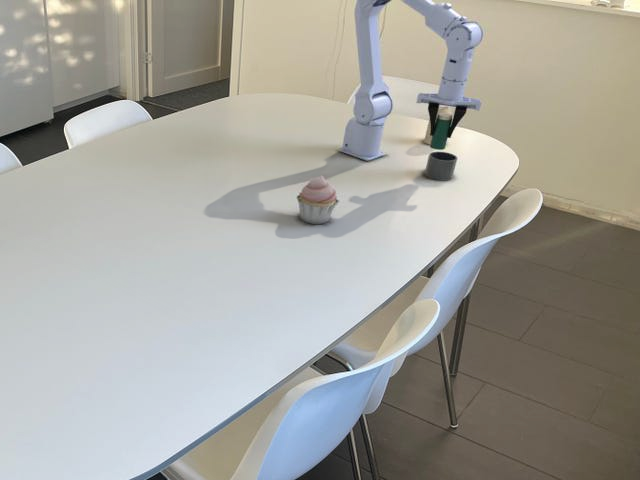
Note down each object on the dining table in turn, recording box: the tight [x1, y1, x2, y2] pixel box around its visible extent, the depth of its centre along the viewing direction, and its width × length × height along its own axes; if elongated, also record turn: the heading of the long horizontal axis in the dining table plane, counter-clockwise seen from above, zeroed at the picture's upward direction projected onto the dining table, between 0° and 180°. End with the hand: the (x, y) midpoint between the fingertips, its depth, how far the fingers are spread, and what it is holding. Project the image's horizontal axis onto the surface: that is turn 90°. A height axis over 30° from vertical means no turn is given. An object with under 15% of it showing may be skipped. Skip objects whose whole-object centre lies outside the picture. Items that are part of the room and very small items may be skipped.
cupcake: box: [295, 175, 340, 225], centre depth 161 cm, size 9×9×10 cm
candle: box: [423, 106, 453, 146], centre depth 204 cm, size 6×6×10 cm
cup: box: [424, 151, 458, 181], centre depth 186 cm, size 7×7×5 cm
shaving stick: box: [429, 113, 453, 151], centre depth 180 cm, size 4×4×8 cm
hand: (440, 135), depth 180 cm, fingers closed on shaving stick, 3 cm apart
